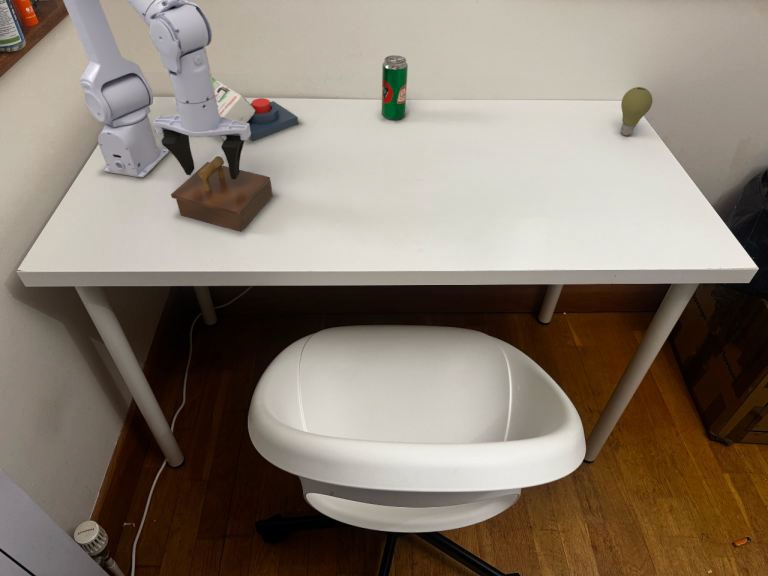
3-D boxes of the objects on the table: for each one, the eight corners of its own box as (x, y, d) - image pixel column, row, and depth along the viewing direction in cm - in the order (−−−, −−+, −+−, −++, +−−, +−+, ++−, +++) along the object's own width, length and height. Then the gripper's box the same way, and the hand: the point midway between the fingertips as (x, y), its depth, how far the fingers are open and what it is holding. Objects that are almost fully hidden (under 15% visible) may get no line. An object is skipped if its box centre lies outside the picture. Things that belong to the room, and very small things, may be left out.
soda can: (401, 122, 118) (404, 66, 110) (378, 119, 119) (379, 62, 111) (407, 111, 122) (410, 56, 113) (385, 108, 123) (386, 52, 114)
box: (252, 141, 112) (249, 125, 109) (229, 124, 117) (226, 108, 114) (298, 124, 117) (296, 108, 115) (274, 108, 122) (272, 92, 119)
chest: (180, 215, 94) (175, 199, 92) (215, 182, 101) (212, 166, 99) (241, 231, 92) (237, 215, 89) (272, 196, 99) (270, 180, 96)
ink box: (209, 74, 114) (242, 94, 108) (224, 91, 118) (257, 111, 112) (182, 106, 113) (214, 128, 107) (198, 121, 117) (229, 143, 111)
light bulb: (616, 141, 114) (632, 94, 107) (607, 128, 118) (622, 81, 111) (643, 141, 114) (661, 94, 107) (633, 128, 118) (650, 82, 111)
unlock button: (259, 116, 113) (257, 108, 112) (249, 109, 115) (248, 101, 113) (274, 110, 114) (273, 102, 113) (264, 104, 116) (263, 96, 115)
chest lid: (171, 197, 92) (164, 173, 89) (208, 165, 99) (202, 141, 96) (237, 215, 89) (232, 191, 86) (270, 180, 96) (267, 156, 93)
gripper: (250, 86, 85) (262, 164, 95) (158, 79, 87) (179, 157, 96) (236, 108, 80) (250, 188, 90) (138, 100, 82) (163, 180, 91)
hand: (213, 173), depth 93 cm, fingers open, 7 cm apart
